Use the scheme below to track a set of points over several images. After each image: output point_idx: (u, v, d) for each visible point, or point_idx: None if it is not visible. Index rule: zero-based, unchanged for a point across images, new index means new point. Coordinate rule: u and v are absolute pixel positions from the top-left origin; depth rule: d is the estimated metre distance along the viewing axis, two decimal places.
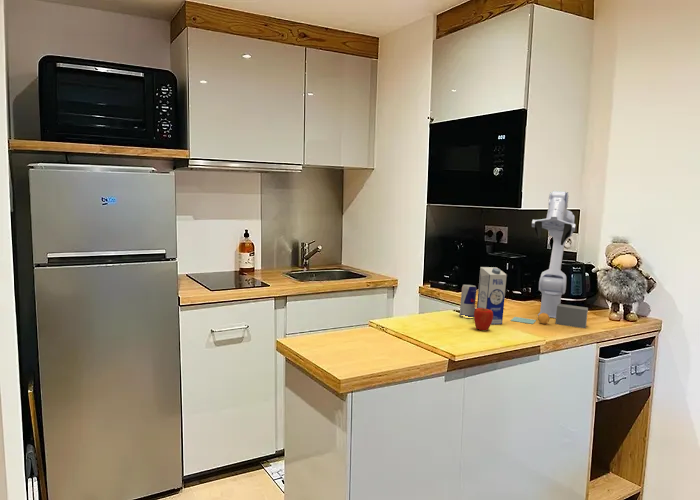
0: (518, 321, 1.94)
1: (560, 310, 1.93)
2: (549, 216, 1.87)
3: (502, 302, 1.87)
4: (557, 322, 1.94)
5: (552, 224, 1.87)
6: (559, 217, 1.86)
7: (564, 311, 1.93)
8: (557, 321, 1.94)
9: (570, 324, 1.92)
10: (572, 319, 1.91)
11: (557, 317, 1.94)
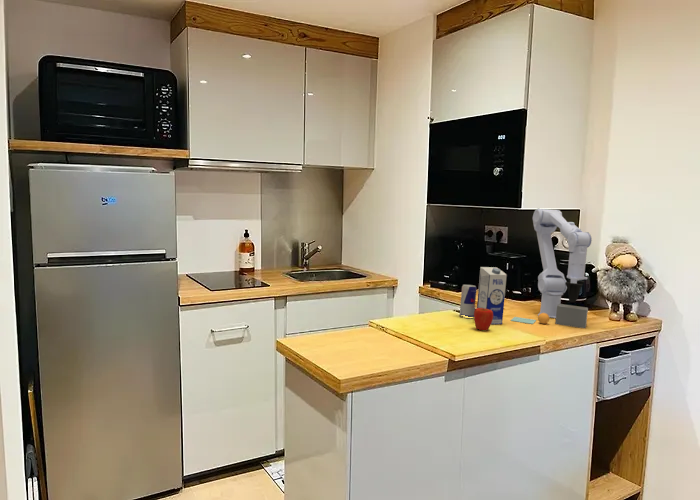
0: (518, 321, 1.94)
1: (560, 310, 1.93)
2: (582, 274, 1.90)
3: (502, 302, 1.87)
4: (557, 322, 1.94)
5: None
6: None
7: (564, 311, 1.93)
8: (557, 321, 1.94)
9: (570, 324, 1.92)
10: (572, 319, 1.91)
11: (557, 317, 1.94)
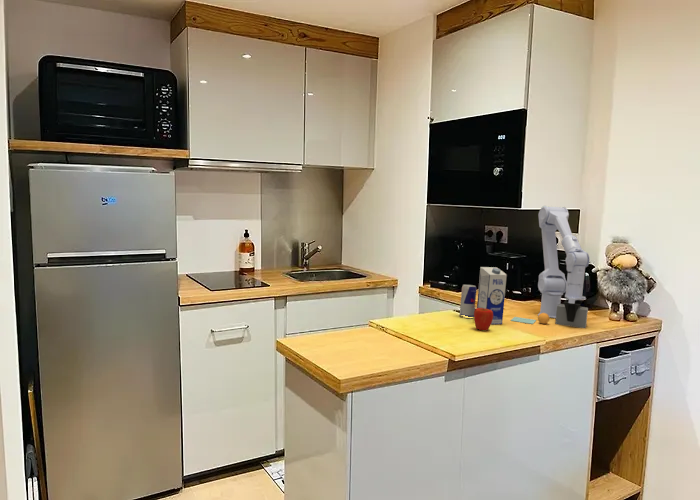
0: (518, 321, 1.94)
1: (560, 310, 1.93)
2: (580, 294, 1.91)
3: (502, 302, 1.87)
4: (557, 322, 1.94)
5: None
6: None
7: (564, 311, 1.93)
8: (557, 321, 1.94)
9: (570, 324, 1.92)
10: None
11: (557, 317, 1.94)
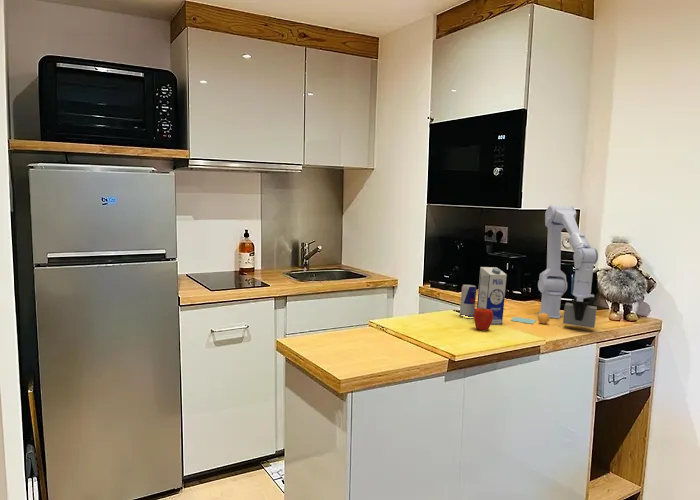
0: (518, 321, 1.94)
1: (568, 309, 1.86)
2: (588, 291, 1.84)
3: (502, 302, 1.87)
4: (565, 321, 1.87)
5: None
6: None
7: (572, 310, 1.86)
8: (565, 320, 1.87)
9: (578, 323, 1.85)
10: None
11: (565, 316, 1.87)
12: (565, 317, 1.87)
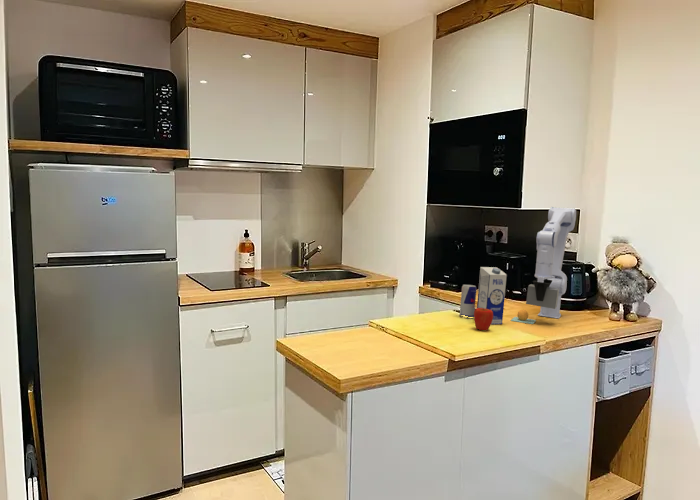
0: (518, 321, 1.94)
1: (531, 290, 1.92)
2: (549, 273, 1.90)
3: (502, 302, 1.87)
4: (528, 302, 1.93)
5: None
6: None
7: (535, 291, 1.91)
8: (528, 301, 1.93)
9: (540, 304, 1.91)
10: None
11: (528, 297, 1.92)
12: (528, 298, 1.92)
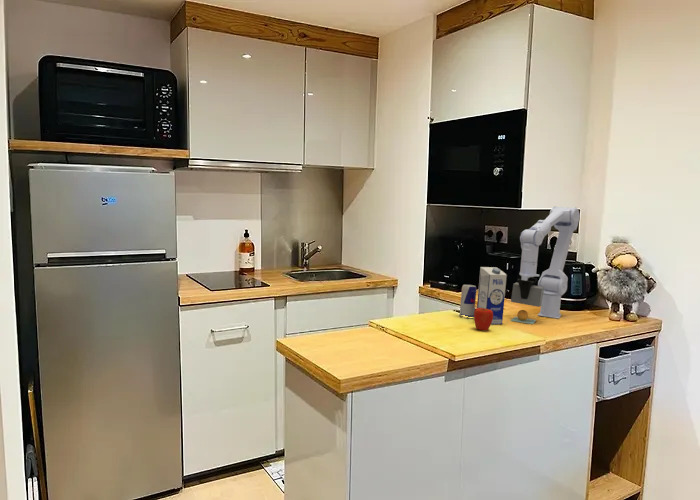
0: (518, 321, 1.94)
1: (516, 288, 1.94)
2: (533, 271, 1.92)
3: (502, 302, 1.87)
4: (513, 300, 1.95)
5: None
6: None
7: None
8: (513, 299, 1.95)
9: (525, 302, 1.93)
10: None
11: (513, 295, 1.95)
12: (513, 296, 1.95)
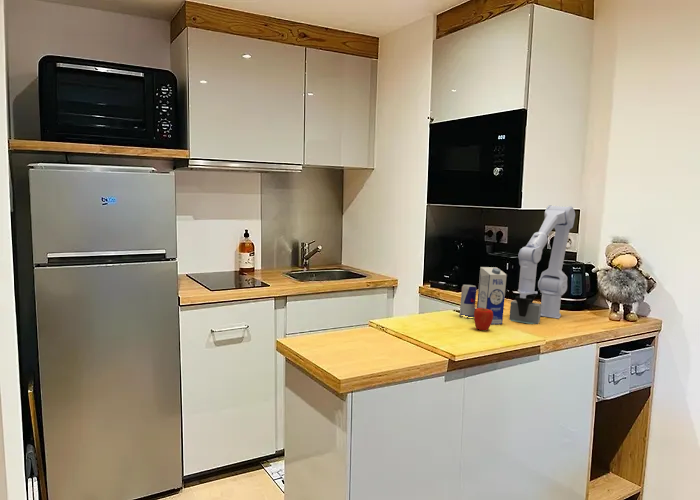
0: (518, 321, 1.94)
1: (514, 306, 1.95)
2: (532, 288, 1.93)
3: (502, 302, 1.87)
4: (511, 318, 1.96)
5: None
6: None
7: (517, 307, 1.94)
8: (511, 317, 1.96)
9: (523, 320, 1.94)
10: None
11: (511, 313, 1.96)
12: (511, 314, 1.96)
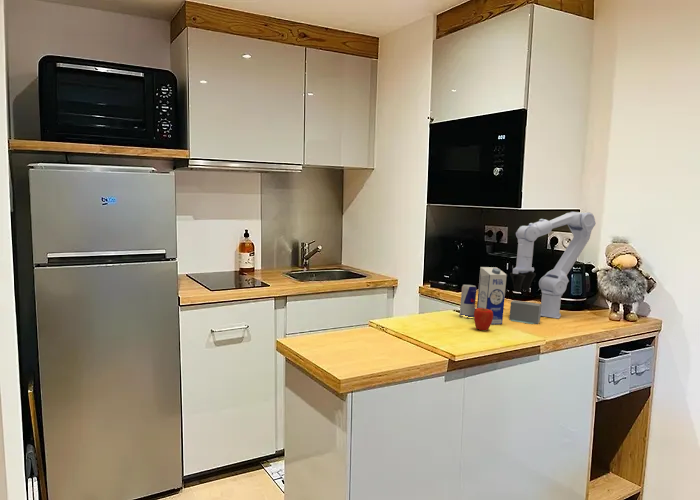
0: (518, 321, 1.94)
1: (514, 306, 1.95)
2: (527, 265, 2.00)
3: (502, 302, 1.87)
4: (511, 318, 1.96)
5: None
6: None
7: (517, 307, 1.94)
8: (511, 317, 1.96)
9: (523, 320, 1.94)
10: (525, 315, 1.93)
11: (511, 313, 1.96)
12: (511, 314, 1.96)
